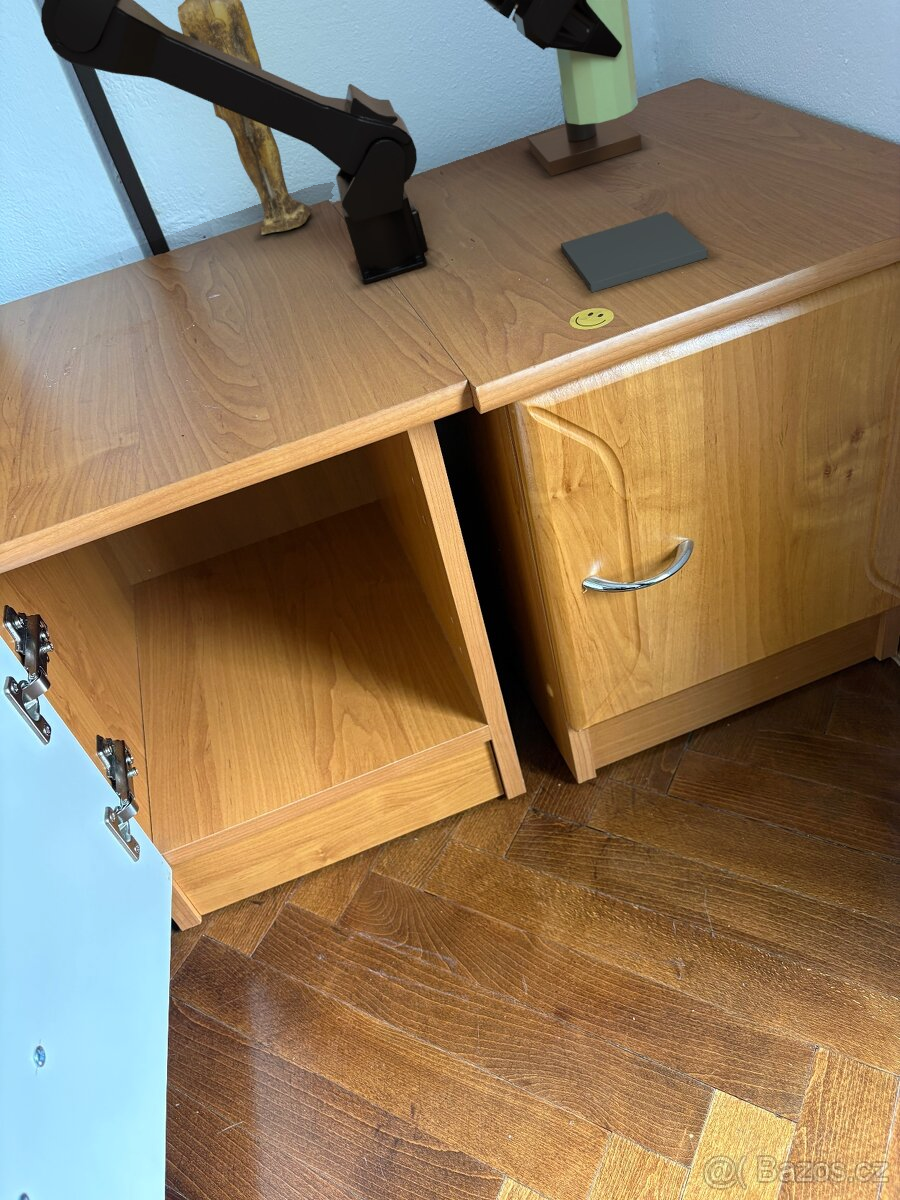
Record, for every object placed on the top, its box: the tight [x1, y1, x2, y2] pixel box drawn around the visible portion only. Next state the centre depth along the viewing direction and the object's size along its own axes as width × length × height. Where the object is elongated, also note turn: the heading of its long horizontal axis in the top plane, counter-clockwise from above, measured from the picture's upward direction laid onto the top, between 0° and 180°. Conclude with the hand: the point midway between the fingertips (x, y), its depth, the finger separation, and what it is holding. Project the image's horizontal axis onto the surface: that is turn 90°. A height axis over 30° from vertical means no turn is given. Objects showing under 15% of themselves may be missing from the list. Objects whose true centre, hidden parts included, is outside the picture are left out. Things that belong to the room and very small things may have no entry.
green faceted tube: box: [553, 0, 639, 125], centre depth 90 cm, size 7×7×11 cm
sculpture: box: [177, 0, 313, 236], centre depth 105 cm, size 7×6×30 cm
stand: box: [527, 92, 643, 177], centre depth 109 cm, size 10×10×6 cm
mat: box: [560, 211, 708, 293], centre depth 87 cm, size 10×10×1 cm
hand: (608, 44), depth 90 cm, fingers closed on green faceted tube, 7 cm apart
